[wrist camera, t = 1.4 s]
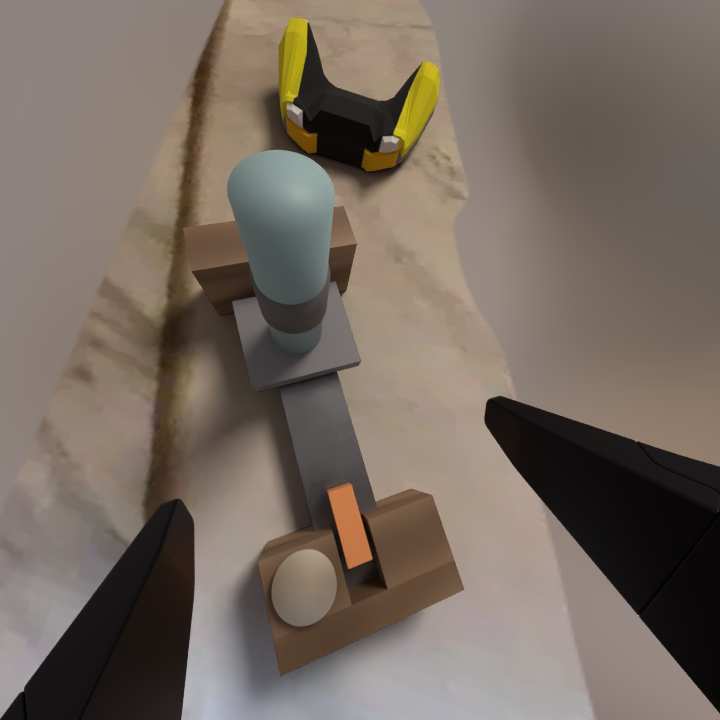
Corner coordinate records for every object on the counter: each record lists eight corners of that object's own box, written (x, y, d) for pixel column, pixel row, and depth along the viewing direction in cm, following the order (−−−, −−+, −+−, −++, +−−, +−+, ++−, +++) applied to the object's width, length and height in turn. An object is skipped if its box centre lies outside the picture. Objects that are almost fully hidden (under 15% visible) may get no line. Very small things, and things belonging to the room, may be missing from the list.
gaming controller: (289, 76, 32) (259, 143, 29) (286, 3, 27) (248, 76, 24) (427, 121, 34) (412, 191, 30) (449, 59, 28) (434, 135, 25)
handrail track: (389, 567, 20) (398, 578, 19) (330, 592, 19) (332, 606, 18) (304, 276, 26) (304, 261, 24) (254, 285, 25) (250, 271, 23)
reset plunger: (368, 551, 18) (372, 559, 17) (345, 561, 18) (348, 569, 17) (348, 482, 19) (351, 484, 18) (326, 490, 19) (328, 492, 18)
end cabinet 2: (436, 565, 21) (468, 593, 17) (286, 631, 19) (279, 683, 14) (411, 488, 22) (435, 496, 18) (267, 541, 20) (256, 565, 16)
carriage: (358, 365, 22) (418, 253, 10) (254, 392, 20) (174, 298, 8) (334, 289, 23) (361, 111, 11) (236, 309, 21) (143, 125, 10)
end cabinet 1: (346, 290, 26) (356, 243, 20) (219, 315, 24) (191, 271, 18) (336, 259, 27) (343, 205, 21) (212, 281, 24) (183, 227, 19)
